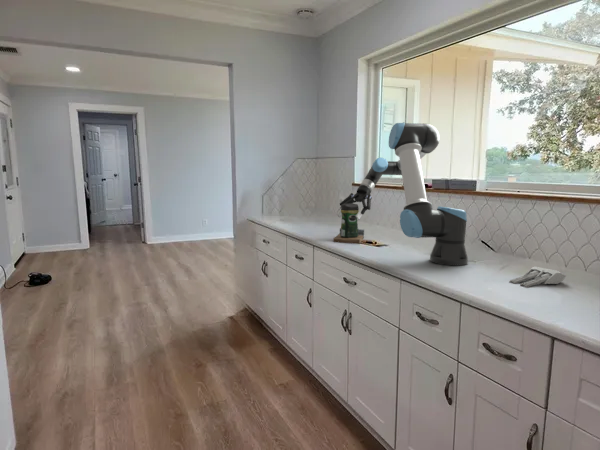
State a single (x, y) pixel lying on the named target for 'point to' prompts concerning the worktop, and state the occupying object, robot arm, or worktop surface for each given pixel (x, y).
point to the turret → (539, 277)
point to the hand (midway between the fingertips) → (347, 216)
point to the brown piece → (350, 240)
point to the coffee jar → (349, 220)
